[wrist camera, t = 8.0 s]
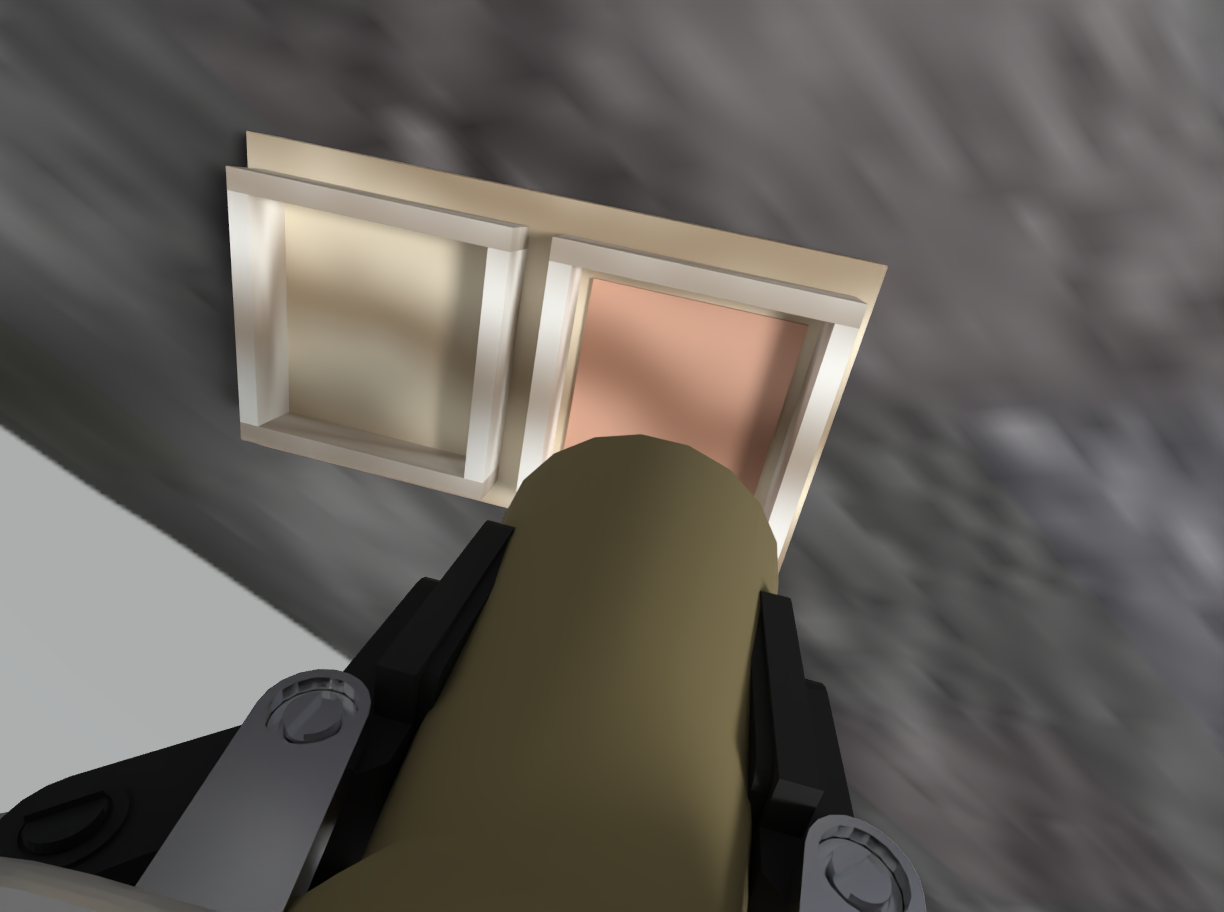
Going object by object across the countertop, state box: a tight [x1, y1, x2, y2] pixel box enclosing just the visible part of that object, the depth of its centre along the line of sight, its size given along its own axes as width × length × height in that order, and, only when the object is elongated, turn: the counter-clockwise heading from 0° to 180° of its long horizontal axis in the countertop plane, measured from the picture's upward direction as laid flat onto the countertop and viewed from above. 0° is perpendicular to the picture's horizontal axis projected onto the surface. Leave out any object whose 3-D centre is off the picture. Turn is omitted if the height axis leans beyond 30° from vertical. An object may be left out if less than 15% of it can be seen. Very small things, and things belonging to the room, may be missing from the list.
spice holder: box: [226, 131, 888, 574], centre depth 24 cm, size 13×24×4 cm, turn 79°
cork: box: [287, 434, 778, 912], centre depth 8 cm, size 6×6×11 cm
